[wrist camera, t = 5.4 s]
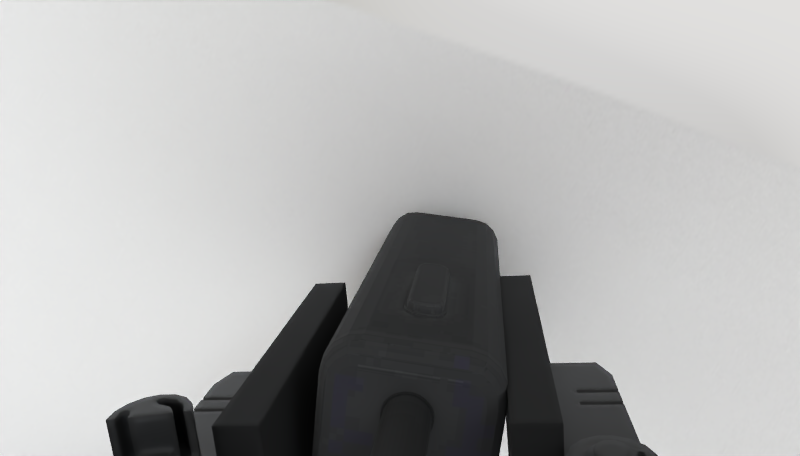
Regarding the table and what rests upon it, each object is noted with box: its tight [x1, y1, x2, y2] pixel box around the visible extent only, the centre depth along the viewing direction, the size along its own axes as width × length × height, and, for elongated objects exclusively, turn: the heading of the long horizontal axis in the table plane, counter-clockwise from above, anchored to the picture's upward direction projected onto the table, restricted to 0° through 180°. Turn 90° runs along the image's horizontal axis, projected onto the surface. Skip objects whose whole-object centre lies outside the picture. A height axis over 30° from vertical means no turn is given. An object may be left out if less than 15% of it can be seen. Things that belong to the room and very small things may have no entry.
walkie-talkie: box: [312, 212, 508, 456], centre depth 12 cm, size 5×3×15 cm
